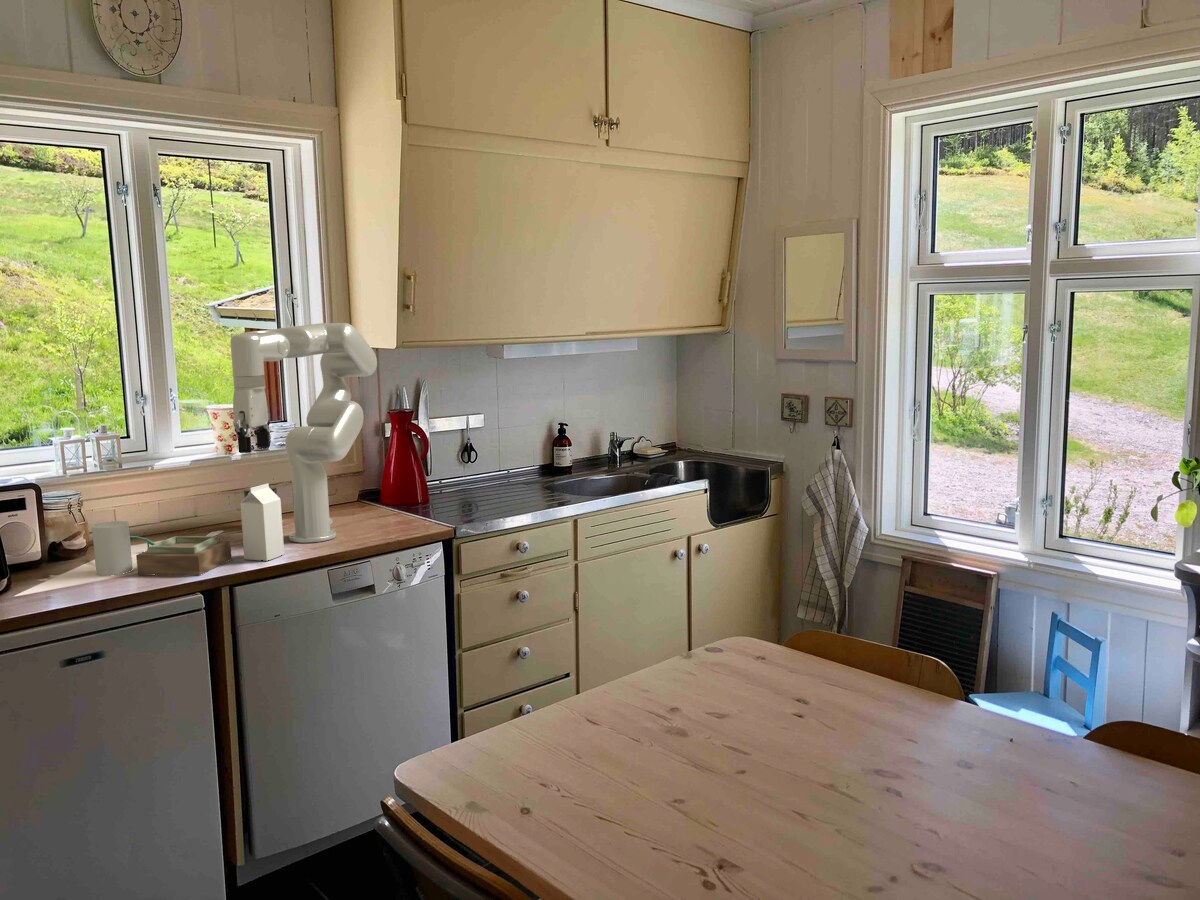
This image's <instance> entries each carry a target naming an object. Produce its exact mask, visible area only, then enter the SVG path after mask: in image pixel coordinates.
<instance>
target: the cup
mask: <svg viewBox="0 0 1200 900" xmlns="http://www.w3.org/2000/svg"><path fill="white" fill-rule="evenodd" d="M129 525H130V524H129V521H126V520H113V521H105V522H104V521H103V522H99V523H95V524H92V525H91V531H92V533H91V534H92V541H93V542H92V543H93V551H94V552H93V553H94V563H95V565H94V566H95V572H96V573H95V574H96V576H99V577H112V576H111V575H114V576H119V575H118V574H121V575H124V574H123V573H125V574H127V573H126V572H128V573H130V572H129V571H131V570H132V569H133V568H134V567H133V559H132V558H133V557H132V546H131V538H130V536H131V535H130V534H131V533H130V526H129ZM133 570H134V569H133ZM133 570H132V571H133ZM132 571H131V572H132Z"/></svg>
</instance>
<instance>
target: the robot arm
mask: <svg viewBox="0 0 1200 900" xmlns="http://www.w3.org/2000/svg"><path fill="white" fill-rule="evenodd" d="M229 342H230V353H231V367H232V378H233V379H232V381H233V389H234V390H233V398H232V415H233V417H232V418H233V421H232V423H233V427H234V431H235V435H236V438H237V443H238V444H237V447H238V448H237V450H238V453H239V454H250V453H252V452H253V451H252V449H253V448H252V439H251V438H252V437H251V436H250V433H251V431H252V430H251V429H256V430H257V431H256V432H255V434H256V445H257V447H258V448H269V447H270V446H271V445H270V442H271V441H270V427H269V426H270V425H271V422H270V419H271V413H270V412H269V409H268V401H267V395H266V390H265V389H266V379H265V378H266V377H265V363H264V362H279V361H281V360H284V359H295V358H296V359H297V358H305V357H310V356H314V355H316V356H317V355H321V357H320V362H319V364H320V370H321V377H322V384H323V385H322V389H321V391H320V393H319V394H318V396H317V397H316V399H315V401H314V402H313V404H312V406H311V407H310V409H309V410H308V413H307V416H306V424H307V426H306V425H305V426H297V427H294V428H293V429H291V430H290V431H289V432H288V433H287V434H286V437H285V440H284V443H285V445H284V446H285V451H286V454H287V458H288V462H289V468H290V474H291V475H290V476H291V477H290V478H291V488H292V489H291V491H292V504H293V505H292V508H293V522H294V532H293V533H291V534H290V535H289V541H291V542H294V543H302V544H303V543H304V544H306V543H307V544H308V543H310V544H311V543H318V542H325V541H329V540H332V539H334V538H336V536H337V531H336V530H333V529H331V524H333V521H334V520H333V518H331V517H330V507H329V506H330V505H329V503H330V502H329V486H328V475H327V472H326V469H325V467H324V465H323V464H322V463H321V462H339V461H341V460H343V459H344V458H345V457H346V456H347V454H348V453H349V452H350V450H351V449H352V446H353V444H354V443H355V441H356V439H357V437H358V435H359V434H360V432H361V430H362V428H363V424H364V417H365V416H364V411H363V408H362V406H361V405H360V404H359V403H358V402H356V401H353V400H351V399H352V393H351V390H350V388H349V386H348V385H347V382H346V380H345V378H353V377H354V378H356V377H360V378H364V377H369V376H371V375H373V374H374V373H375V372H376V369H377V367H378V359H377V355H376V352H375V351H374V349H373V348H372V347H371V346H370V344H369V343H368V341H367V340H366V339H365V337H364V336H363V335H362V334H361V332H360V331H359V330H358V329H357V328H356V327H355V326H354V325H351V324H350V323H348V322H321V323H312V324H305V325H297V326H296V325H295V326H288V327H281V328H275V329H274V328H273V329H272V328H271V329H266V330H265V329H263V330H255V331H247V332H246V331H245V332H241V333H239V334H234V335H232V336H231V338H230V341H229Z"/></svg>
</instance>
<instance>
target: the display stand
mask: <svg viewBox="0 0 1200 900" xmlns="http://www.w3.org/2000/svg"><path fill="white" fill-rule="evenodd" d="M147 548H148V550H147V549H146V550H145V552H144V551H141V552H142V553H138V554H136V555H135V558H136V568H137V575H138V574H155V575H154V576H184V575H200V576H202V575H204V574H206V573H208V572H210V571H211V570H214V569H215V567H216V568H218V567H219V566H221V565H223V564H225V563H227V562H229V561H231V560H232V559H233V558H232V545H231V540H230V539H228V540H226V539H225V540H223V539H221V540H220V539H219V536H217V535H215V536H210V535H209V536H207V535H205V536H203V535H202V536H198V535H197V536H196V535H194V536H193V535H192V536H191V535H189V536H188V535H187V536H186V535H177V536H176V535H175V536H171V537H170V538H166V539H165V540H163V541H160V542H157V543H155V545H149V547H148V546H147ZM230 559H231V560H230ZM228 560H229V561H228ZM226 561H227V562H226ZM213 568H214V569H213ZM209 570H210V571H209ZM205 572H206V573H205ZM203 573H204V574H203ZM201 574H202V575H201Z"/></svg>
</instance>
